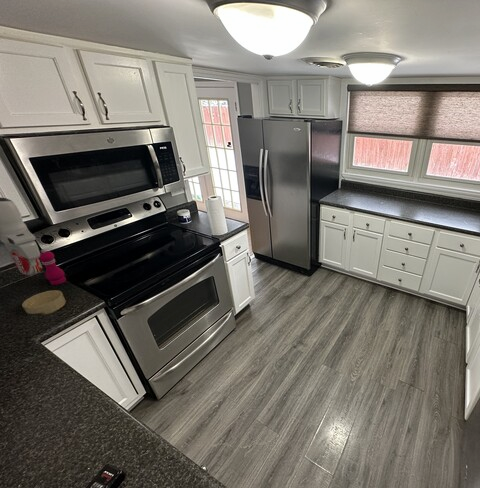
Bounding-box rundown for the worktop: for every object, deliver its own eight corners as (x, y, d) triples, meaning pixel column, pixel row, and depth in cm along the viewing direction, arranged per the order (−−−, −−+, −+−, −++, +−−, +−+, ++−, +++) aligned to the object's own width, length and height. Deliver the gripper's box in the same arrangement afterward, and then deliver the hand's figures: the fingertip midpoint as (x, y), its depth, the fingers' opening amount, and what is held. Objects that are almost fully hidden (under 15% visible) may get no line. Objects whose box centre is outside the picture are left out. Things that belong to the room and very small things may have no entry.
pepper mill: (65, 276, 148) (49, 245, 139) (69, 281, 145) (53, 249, 136) (47, 282, 143) (30, 249, 134) (51, 287, 139) (34, 254, 130)
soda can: (42, 273, 119) (30, 250, 114) (19, 278, 115) (6, 254, 110) (45, 266, 124) (34, 244, 119) (24, 270, 120) (11, 247, 115)
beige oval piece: (36, 321, 117) (31, 311, 114) (21, 312, 121) (16, 302, 119) (72, 304, 128) (68, 294, 125) (57, 296, 132) (52, 287, 130)
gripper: (-8, 232, 113) (7, 260, 119) (16, 242, 106) (31, 271, 112) (12, 228, 118) (26, 255, 124) (36, 236, 111) (50, 265, 117)
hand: (28, 263), depth 118 cm, fingers closed on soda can, 7 cm apart
